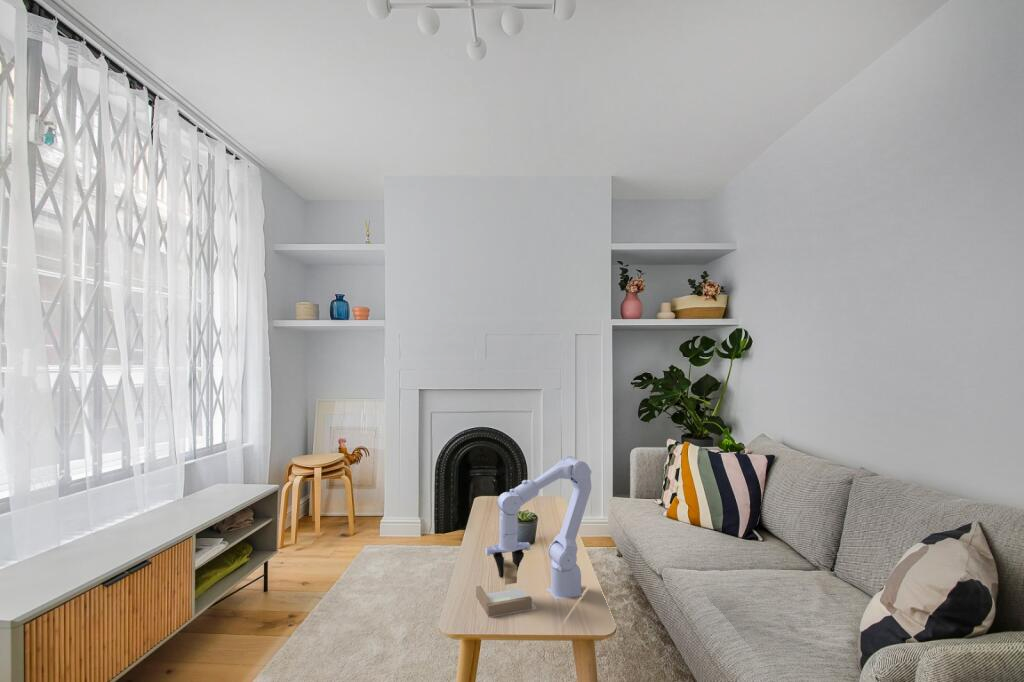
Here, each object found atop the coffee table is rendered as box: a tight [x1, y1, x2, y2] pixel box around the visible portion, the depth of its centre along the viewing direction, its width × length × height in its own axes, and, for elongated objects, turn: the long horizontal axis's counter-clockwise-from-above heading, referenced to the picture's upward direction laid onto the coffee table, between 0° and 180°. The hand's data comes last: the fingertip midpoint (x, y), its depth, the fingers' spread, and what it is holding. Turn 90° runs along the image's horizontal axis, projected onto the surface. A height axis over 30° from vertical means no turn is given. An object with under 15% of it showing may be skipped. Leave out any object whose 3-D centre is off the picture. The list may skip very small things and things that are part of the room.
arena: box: [475, 585, 538, 619], centre depth 155 cm, size 16×14×4 cm
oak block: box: [498, 559, 518, 586], centre depth 156 cm, size 4×6×5 cm, turn 20°
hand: (507, 575), depth 156 cm, fingers closed on oak block, 4 cm apart
